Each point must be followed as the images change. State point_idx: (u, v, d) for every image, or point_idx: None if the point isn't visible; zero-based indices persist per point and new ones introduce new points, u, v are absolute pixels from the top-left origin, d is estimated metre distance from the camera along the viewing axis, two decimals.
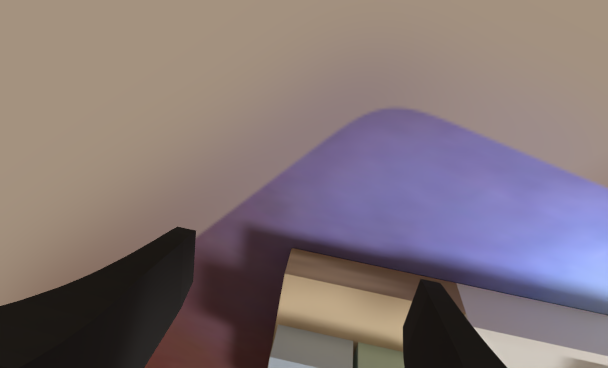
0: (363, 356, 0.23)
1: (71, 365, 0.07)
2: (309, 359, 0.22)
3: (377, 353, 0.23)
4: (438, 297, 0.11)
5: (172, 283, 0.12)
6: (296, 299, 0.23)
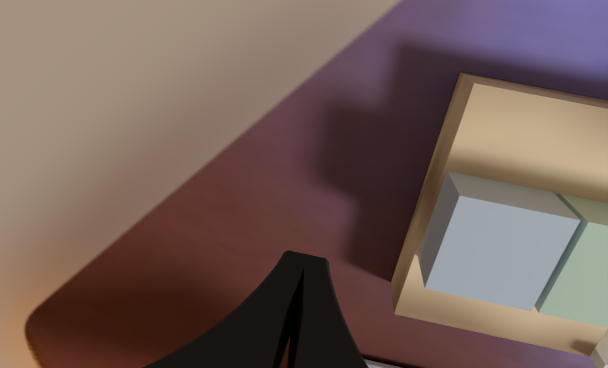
0: (578, 205, 0.16)
1: None
2: (512, 201, 0.16)
3: (593, 204, 0.17)
4: (313, 270, 0.11)
5: (293, 310, 0.11)
6: (482, 126, 0.16)
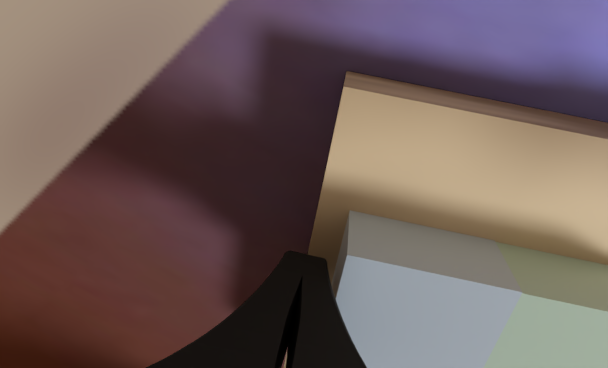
0: (514, 262, 0.12)
1: None
2: (427, 262, 0.11)
3: (537, 259, 0.12)
4: (311, 270, 0.11)
5: (294, 310, 0.11)
6: (363, 147, 0.12)
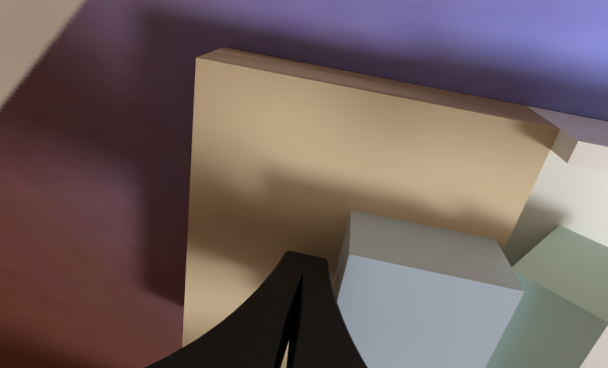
0: (550, 284, 0.11)
1: None
2: (429, 261, 0.11)
3: (543, 265, 0.12)
4: (312, 270, 0.11)
5: (294, 310, 0.11)
6: (223, 119, 0.12)
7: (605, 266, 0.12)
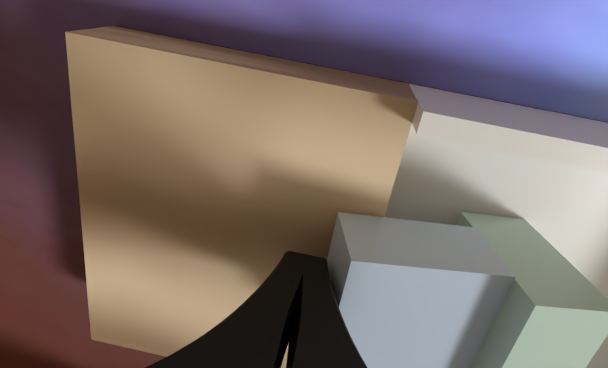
0: (563, 300, 0.10)
1: None
2: (426, 258, 0.11)
3: (529, 277, 0.11)
4: (312, 270, 0.11)
5: (294, 310, 0.11)
6: (99, 94, 0.12)
7: (531, 242, 0.13)
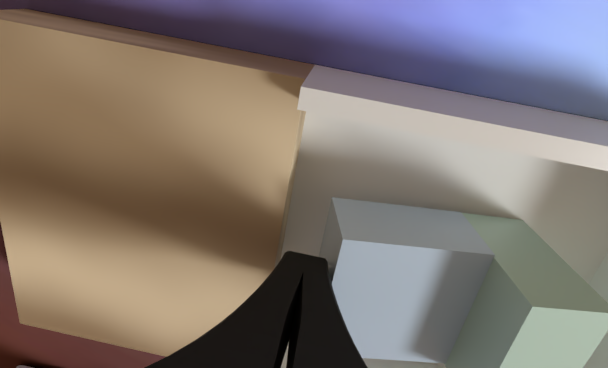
0: (560, 301, 0.10)
1: None
2: (412, 237, 0.12)
3: (526, 278, 0.11)
4: (312, 270, 0.11)
5: (294, 310, 0.11)
6: None
7: (529, 243, 0.13)
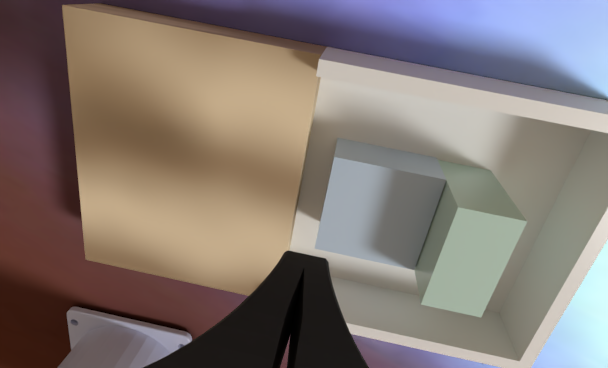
0: (483, 208, 0.14)
1: None
2: (386, 163, 0.17)
3: (465, 196, 0.15)
4: (313, 270, 0.11)
5: (293, 310, 0.11)
6: (88, 52, 0.16)
7: (484, 181, 0.17)
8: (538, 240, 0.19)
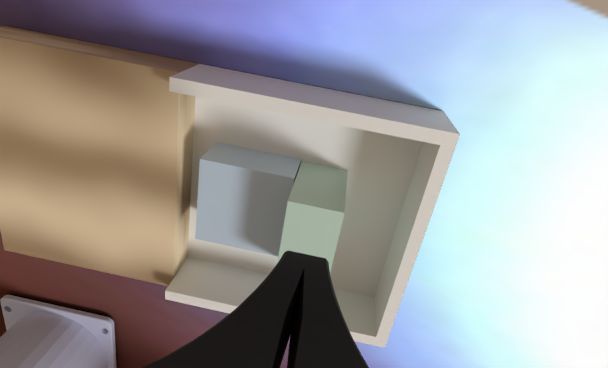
0: (311, 202, 0.17)
1: None
2: (247, 164, 0.19)
3: (303, 191, 0.18)
4: (313, 270, 0.11)
5: (293, 309, 0.11)
6: None
7: (333, 179, 0.19)
8: (395, 231, 0.22)
